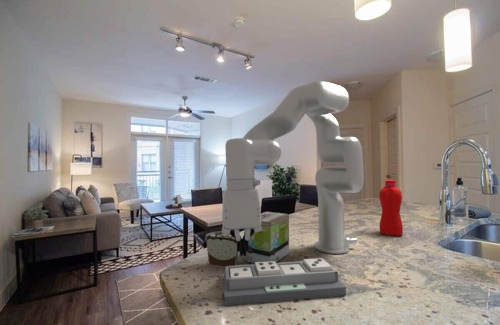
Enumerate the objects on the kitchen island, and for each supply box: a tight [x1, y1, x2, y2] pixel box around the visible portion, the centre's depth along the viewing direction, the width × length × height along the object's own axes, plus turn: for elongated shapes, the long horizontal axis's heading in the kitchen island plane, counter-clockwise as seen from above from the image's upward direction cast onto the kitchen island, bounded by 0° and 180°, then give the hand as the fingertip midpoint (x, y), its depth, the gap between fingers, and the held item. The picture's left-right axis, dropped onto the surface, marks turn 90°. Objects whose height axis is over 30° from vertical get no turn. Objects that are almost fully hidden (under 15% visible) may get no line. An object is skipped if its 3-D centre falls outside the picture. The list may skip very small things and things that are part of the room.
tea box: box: [244, 211, 290, 264], centre depth 85 cm, size 15×10×15 cm, turn 148°
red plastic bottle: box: [378, 179, 404, 237], centre depth 113 cm, size 9×11×25 cm
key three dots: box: [303, 257, 332, 272], centre depth 66 cm, size 6×6×2 cm
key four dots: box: [255, 261, 280, 276], centre depth 64 cm, size 6×6×2 cm
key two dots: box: [230, 267, 253, 278], centre depth 63 cm, size 6×6×2 cm
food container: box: [204, 230, 239, 268], centre depth 80 cm, size 12×6×10 cm, turn 71°
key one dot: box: [280, 264, 306, 274], centre depth 65 cm, size 6×6×2 cm
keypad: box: [222, 260, 347, 306], centre depth 65 cm, size 30×14×4 cm, turn 97°
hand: (242, 254), depth 64 cm, fingers closed
